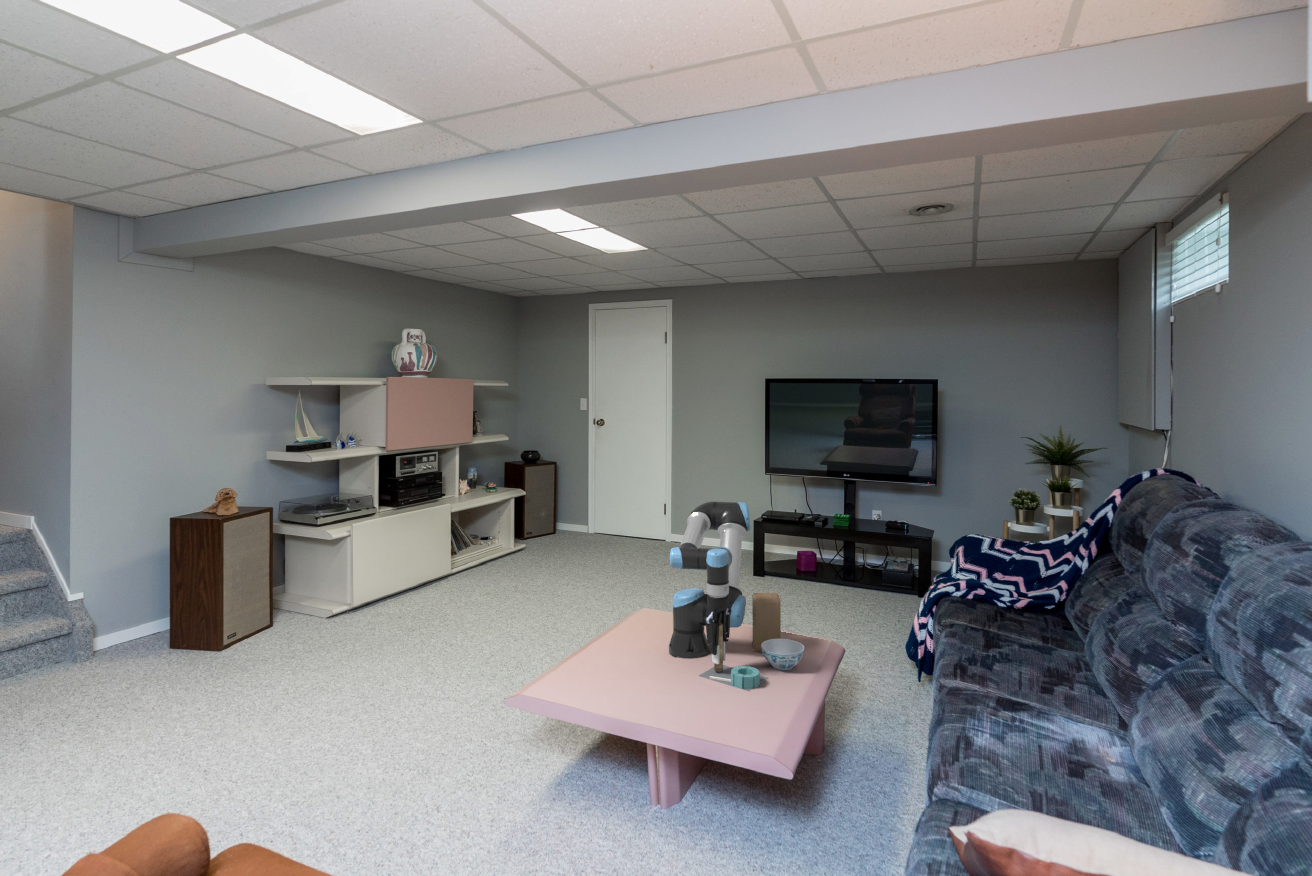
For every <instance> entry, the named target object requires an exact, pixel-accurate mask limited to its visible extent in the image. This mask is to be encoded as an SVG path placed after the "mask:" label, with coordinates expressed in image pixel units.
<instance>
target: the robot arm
mask: <svg viewBox="0 0 1312 876" xmlns="http://www.w3.org/2000/svg"><path fill="white" fill-rule="evenodd" d="M749 513H750V512H749V505H748V503H747V502H743V501H742V502H741V501H735V502H733V501H708V502H707V501H706V502H703V503H702V504H700V505H698V506H696V507H694V509H693V510H692V511H690V513H689V515H688V517H687V519H686V525H687V526H686V529H685V532H684V534H683V536H682V539H681V542H680V544H679V546H677V547H672V548H671V549H670V551H669V552H670V553H669V565H670V567H671V568H672V569H679V570H699V571H700V570H703V571H706V575H707V576H706V593H705V591H704V589H702V588H698V587H691V588H690V587H689V588H684V589H682V590H678V591H677V592H675V593H674V594H673V597H672V620H673V621H672V625H673V626H672V627H673V628H672V629H673V630H672V634H671V638H670V641H669V645H668V653H669V655H670V656H672V657H674V658H679V659H685V660H686V659H689V660H690V659H691V660H692V659H699V658H703V657H706V656H707V655H709V653H710V648H711V663H712V664H714V663H716V664H720V653H719V645H718V636H719V626H720V625H721V623H722V625H723V662H726V645H727V643H728V642H729V641H730V640H729V638H730V635H731V634H730V631H731V630H730V629H731V628H739V627H741V626H742V624H743V622H744V620H745V615H746V614H745V613H746V606H747V605H746V604H747V598H746V596H745V595H743V591H742V590H741V588H740V587H739V586H740V576H741V575H740V574H741V559H742V546H743V543H742V542H743V538H745V537H746V536H747V532H750V531H751V524H750V523H751V522H750V521H751V520H750V514H749ZM711 530H712V531H717V534H718V536H720V538H719V539H720V540H719V541H720V542H719V546H718V547H716V548H704V547H703V548H702V547H701V546H702V544H703V540H704V537H705V536H706V533H707V532H708V531H711ZM705 629H706V631H705ZM705 632H706V633H705ZM726 642H727V643H726ZM710 646H711V647H710Z"/></svg>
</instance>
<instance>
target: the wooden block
mask: <svg viewBox="0 0 1312 876" xmlns="http://www.w3.org/2000/svg"><path fill="white" fill-rule="evenodd" d="M751 596H752V598H751V599H752V648H753V651H754V652H761V653H763V652H762V649H761V644H762V643H763V642H764V641H767V640H770V639H782V638H781V637H782V636H781V635H782V634H781V633H782V631H781V630H782V629H781V628H782V627H781V620H782V619H781V615H782V614H781V605H782V604H781V599H780V595H779V593H777V592H753V594H752V595H751Z"/></svg>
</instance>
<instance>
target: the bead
mask: <svg viewBox="0 0 1312 876" xmlns="http://www.w3.org/2000/svg"><path fill="white" fill-rule="evenodd" d="M732 668H733V669H732V670H731V683H732V685H733V686H734V688H736V687H737V688H736V689H741V690H743V688H744V689H751V690H753V689H756V688H758V687H759V686H760V684H761V683H760V674H761V672H760V671H759V668H756V667H752V666H750V665H749V666H747V665H744V666H743V665H741V666H740V665H739V666H734V667H732ZM733 686H732V687H733Z"/></svg>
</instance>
